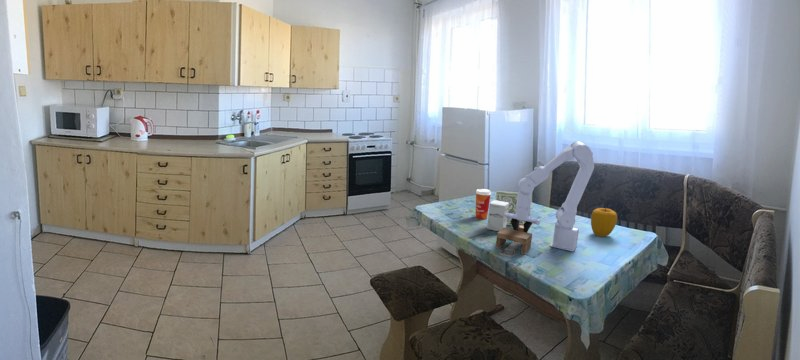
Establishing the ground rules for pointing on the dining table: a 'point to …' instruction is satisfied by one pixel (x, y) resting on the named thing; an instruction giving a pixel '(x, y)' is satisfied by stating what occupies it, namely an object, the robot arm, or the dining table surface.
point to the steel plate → (507, 253)
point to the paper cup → (482, 203)
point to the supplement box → (497, 215)
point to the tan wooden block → (515, 245)
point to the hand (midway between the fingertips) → (520, 237)
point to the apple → (603, 221)
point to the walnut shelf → (514, 238)
